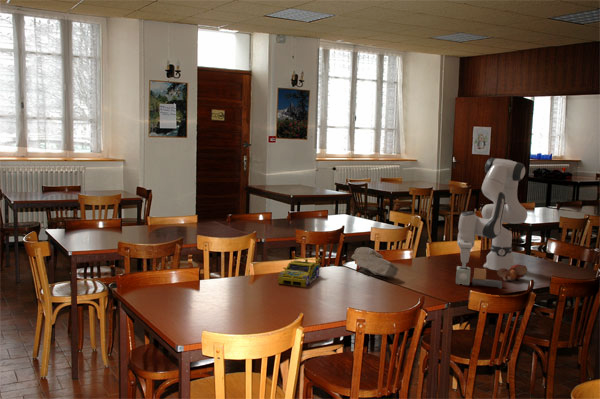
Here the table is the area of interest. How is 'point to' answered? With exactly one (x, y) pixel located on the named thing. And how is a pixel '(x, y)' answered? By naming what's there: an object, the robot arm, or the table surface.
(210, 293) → the table surface
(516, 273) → the figurine
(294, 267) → the toy car
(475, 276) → the carriage
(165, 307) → the table surface
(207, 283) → the table surface
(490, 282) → the rail
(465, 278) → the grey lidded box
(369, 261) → the stone block
